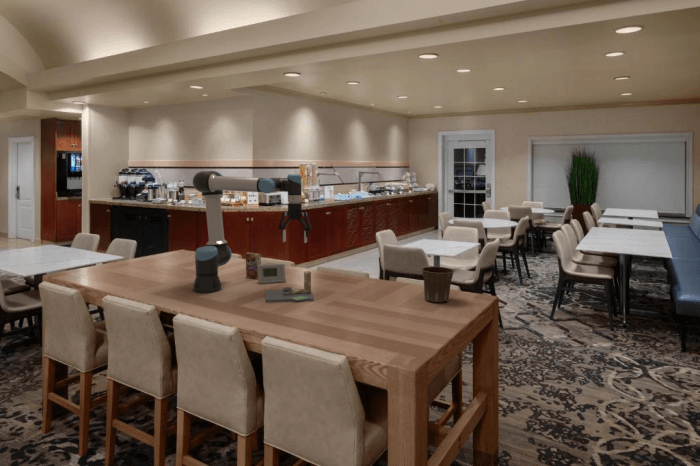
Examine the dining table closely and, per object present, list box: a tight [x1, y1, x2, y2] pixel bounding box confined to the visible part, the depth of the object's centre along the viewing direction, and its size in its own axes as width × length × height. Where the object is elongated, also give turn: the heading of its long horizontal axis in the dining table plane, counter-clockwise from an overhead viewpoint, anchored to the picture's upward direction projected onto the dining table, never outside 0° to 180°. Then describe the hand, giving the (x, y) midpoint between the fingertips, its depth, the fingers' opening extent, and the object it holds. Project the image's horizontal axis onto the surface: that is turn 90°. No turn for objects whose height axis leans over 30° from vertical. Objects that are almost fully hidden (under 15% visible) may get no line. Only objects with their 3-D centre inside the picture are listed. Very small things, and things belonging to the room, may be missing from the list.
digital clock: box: [257, 263, 287, 285], centre depth 290 cm, size 16×9×11 cm, turn 98°
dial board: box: [265, 288, 314, 303], centre depth 258 cm, size 24×23×3 cm
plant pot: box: [421, 266, 455, 303], centre depth 253 cm, size 16×16×16 cm
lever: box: [281, 270, 312, 294], centre depth 260 cm, size 15×5×11 cm, turn 109°
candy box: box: [245, 252, 262, 280], centre depth 300 cm, size 9×4×15 cm, turn 61°
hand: (295, 242), depth 272 cm, fingers open, 12 cm apart
